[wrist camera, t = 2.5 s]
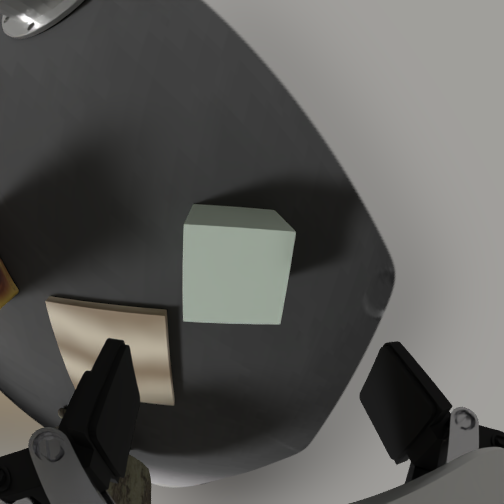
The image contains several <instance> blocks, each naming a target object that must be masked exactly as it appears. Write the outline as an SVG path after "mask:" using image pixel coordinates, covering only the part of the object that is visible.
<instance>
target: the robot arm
mask: <svg viewBox="0 0 504 504" xmlns="http://www.w3.org/2000/svg"><path fill="white" fill-rule="evenodd" d="M83 1H84V0H0V13H1V14H3V18H2V27H3V31H4V32H5V33H6V34H7V35H8V36H10V37H12V38H16V39H24V38H29V37H32V36H35V35H37V34H39V33H41V32H43V31H45V30H47V29H48V28H50V27H51V26H53V25H55V24H56V23H58V22H59V21H60V20H62V19H63V18H64V17H66V16H67V15H68V14H70V13H71V12H72V11H73V10H74V9H76V8H77V7H78V6H79V5H80V4H81V3H82V2H83ZM360 400H361V403H362V405H363V406H364V408H365V410H366V412H367V414H368V416H369V418H370V420H371V421H372V423H373V425H374V427H375V429H376V431H377V433H378V435H379V437H380V439H381V441H382V442H383V444H384V446H385V448H386V450H387V452H388V454H389V456H390V457H391V459H393V460H394V461H395V463H396V464H399V463H402V462H405V461H407V460H408V459H410V460H411V464H410V468H409V471H408V474H407V478H406V481H405V484H403V485H401V486H398V487H396V488H393V489H391V490H388V491H386V492H383V493H380V494H378V495H375V496H372V497H369V498H366V499H363V500H360V501H357V502H353V503H350V504H504V433H503V432H501V431H499V430H495V429H491V428H487V427H484V426H480V425H479V424H478V419H477V416H476V415H475V414H474V413H473V412H472V411H471V410H470V409H467V408H465V407H458V408H456V409H454V410H453V411H452V413H450V412H449V410H450V409H451V408H452V405H451V404H450V402H449V401H448V400H447V398H446V397H445V396H444V395H443V393H442V392H441V391H440V390H439V388H438V387H437V386H436V385H435V383H434V382H433V381H432V380H431V378H430V377H429V376H428V375H427V374H426V372H425V371H424V370H423V369H422V368H421V366H420V365H419V364H418V363H417V362H416V361H415V359H414V358H413V357H412V356H411V355H410V353H409V352H408V351H407V350H406V349H405V347H404V346H403V345H402V344H401V343H400V342H389V343H385V344H384V345H383V347H381V349H380V351H379V353H378V356H377V358H376V360H375V362H374V364H373V367H372V369H371V371H370V373H369V376H368V378H367V380H366V382H365V384H364V386H363V388H362V390H361V392H360ZM139 406H140V393H139V389H138V385H137V381H136V376H135V371H134V366H133V361H132V356H131V351H130V346H129V345H125V342H124V340H119V339H112V338H108V339H107V340H106V342H105V344H104V345H103V347H102V349H101V351H100V353H99V355H98V357H97V359H96V361H95V363H94V365H93V367H92V369H91V371H88V370H87V371H85V372H84V374H83V375H82V377H81V379H80V381H79V383H78V385H77V388H76V390H75V392H74V394H73V396H72V398H71V400H70V402H69V405H68V407H67V409H66V411H65V414H64V416H63V418H62V421H61V423H60V425H59V428H58V429H55V428H50V427H46V428H41V429H39V430H37V431H36V432H34V433H33V434H32V436H31V438H30V440H29V445H28V446H29V448H26V449H24V450H21V451H18V452H14V453H11V454H8V455H5V456H2V457H0V504H116V503H115V502H114V500H113V499H112V497H111V496H110V494H109V493H108V491H107V490H108V489H109V484H110V482H113V483H117V484H119V478H124V476H125V472H126V467H127V461H128V456H129V451H130V446H131V441H132V437H133V432H134V427H135V423H136V418H137V414H138V410H139Z"/></svg>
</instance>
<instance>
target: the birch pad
mask: <svg viewBox="0 0 504 504" xmlns="http://www.w3.org/2000/svg"><path fill="white" fill-rule="evenodd" d="M45 302H46V306H47V310H48V314H49V317H50V321H51V324H52V327H53V331H54V334H55V337H56V340H57V343H58V346H59V349H60V352H61V355H62V357H63V360H64V363H65V365H66V368H67V370H68V373H69V375H70V378H71V380H72V383H73V385H74V387H75V390H76V388H77V385H78V383H79V381H80V379H81V377H82V375H83V374H84V372H85V371H87V370H88V371H91V369H92V367H93V365H94V363H95V361H96V359H97V357H98V355H99V353H100V351H101V349H102V347H103V345H104V344H105V342H106V340H107V339H108V338H112V339H119V340H124V342H125V345H129V346H130V351H131V356H132V361H133V366H134V371H135V376H136V381H137V385H138V389H139V393H140V402H144V403H152V404H161V405H172V406H174V402H175V397H174V389H173V380H172V371H171V361H170V350H169V337H168V322H167V310H165V309H152V308H141V307H131V306H121V305H112V304H103V303H95V302H87V301H80V300H73V299H66V298H59V297H53V296H50V297H49V298H48V299H47V300H46V301H45Z"/></svg>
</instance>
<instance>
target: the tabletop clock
mask: <svg viewBox="0 0 504 504" xmlns="http://www.w3.org/2000/svg"><path fill="white" fill-rule="evenodd" d="M65 411H66V409H64V408H60V409H59V410H58V415H59V416H60V417H61V418H63V416H64V414H65ZM58 428H59V426H57V427H55V429H58ZM107 491H108V493H109V494H110V496H111V497H112V499H113V500H114V502H115V503H116V504H151V478H150V473H149V469H148V468H147V467H146V466H145V465H144V464H143V463H142V462H140V461H139V460H137V459H136V458H134V457H132V456H131V455H129V456H128V461H127V467H126V472H125V476H124V478H119V484H117V483H113V482H110V484H109V489H108V490H107Z"/></svg>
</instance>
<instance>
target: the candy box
mask: <svg viewBox="0 0 504 504" xmlns="http://www.w3.org/2000/svg"><path fill="white" fill-rule="evenodd" d="M18 292H19V290H18V288H17V286H16V285H15V283H14V282H13V280H12V279H11V277H10V275H9V273H8V271H7V269H6V268H5V266H4V264H3V262H2V260H1V258H0V309H1V308H2V307H3V306H4V305H5V304H6V303H7V302H9V301H10V300H11V299H12V298H13V297H14V296H15V295H16V294H17V293H18Z"/></svg>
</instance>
